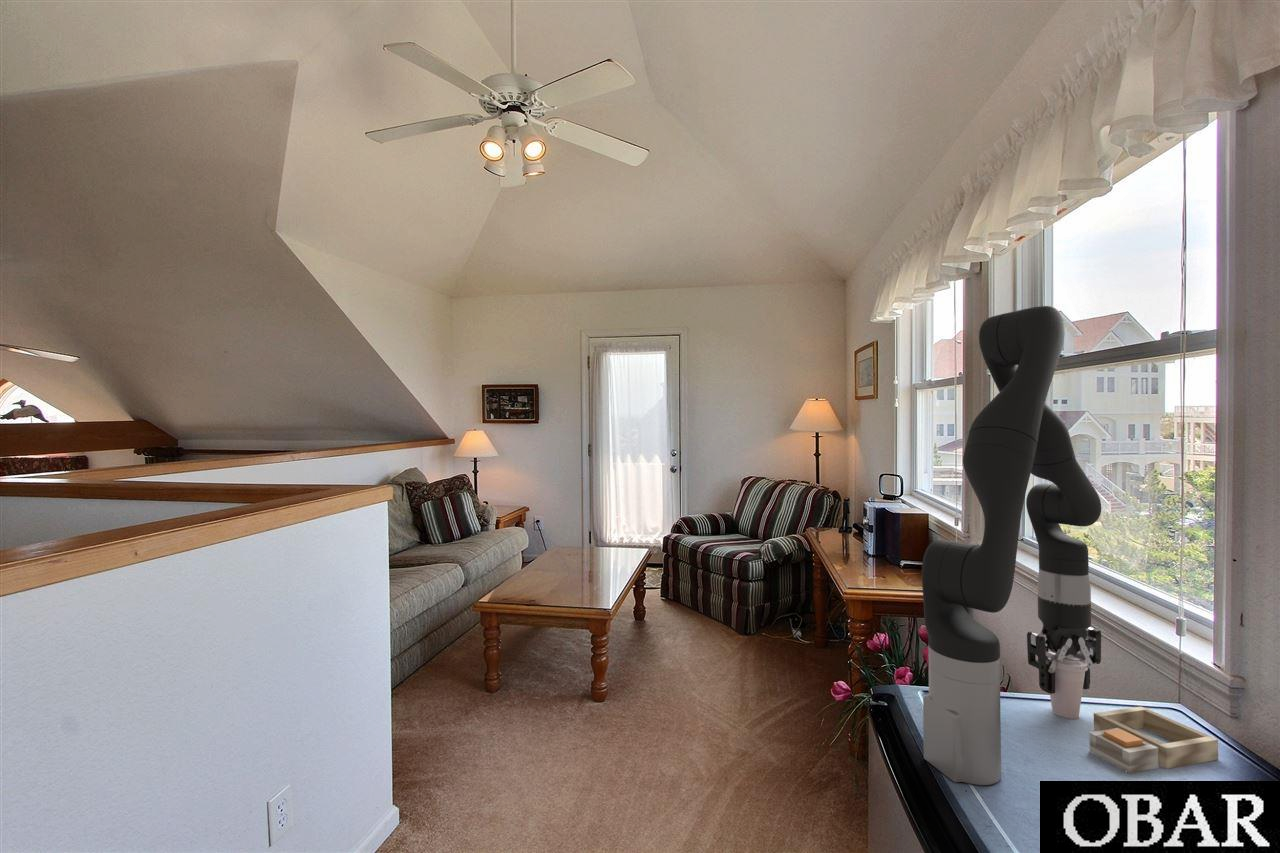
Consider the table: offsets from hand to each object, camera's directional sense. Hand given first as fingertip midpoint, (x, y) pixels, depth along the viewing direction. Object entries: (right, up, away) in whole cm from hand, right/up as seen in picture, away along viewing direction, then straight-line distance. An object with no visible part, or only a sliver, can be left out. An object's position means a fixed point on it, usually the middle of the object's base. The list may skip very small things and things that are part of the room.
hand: (1065, 689), depth 97 cm
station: (+3, -4, -11) cm, 12 cm away
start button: (-2, -3, -14) cm, 14 cm away
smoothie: (0, -4, 0) cm, 4 cm away
